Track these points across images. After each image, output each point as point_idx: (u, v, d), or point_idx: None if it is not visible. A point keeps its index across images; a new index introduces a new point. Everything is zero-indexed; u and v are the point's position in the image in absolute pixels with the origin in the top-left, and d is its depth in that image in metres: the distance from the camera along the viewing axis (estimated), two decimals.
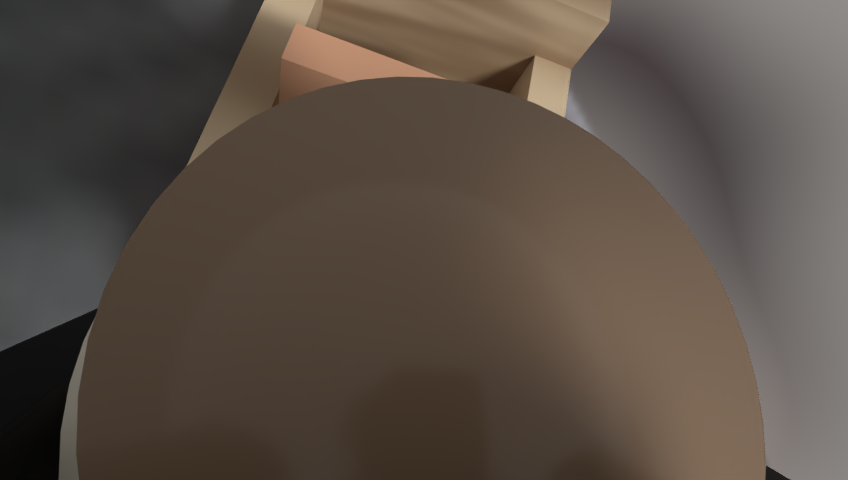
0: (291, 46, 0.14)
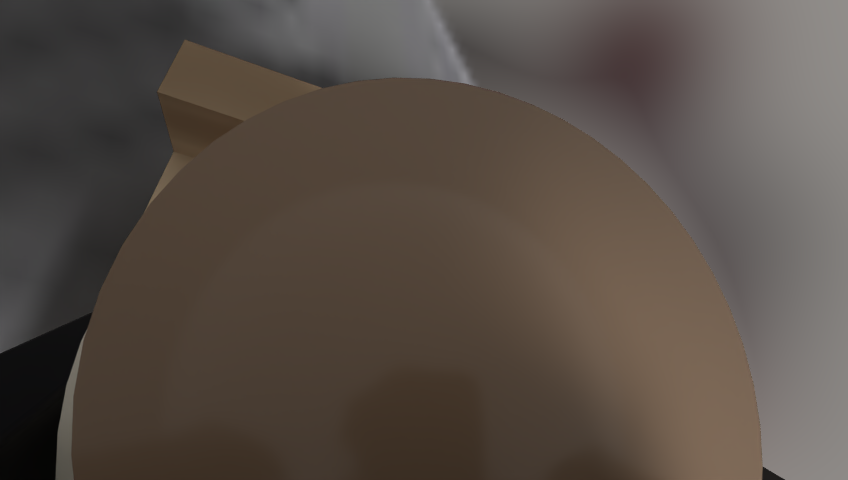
0: None
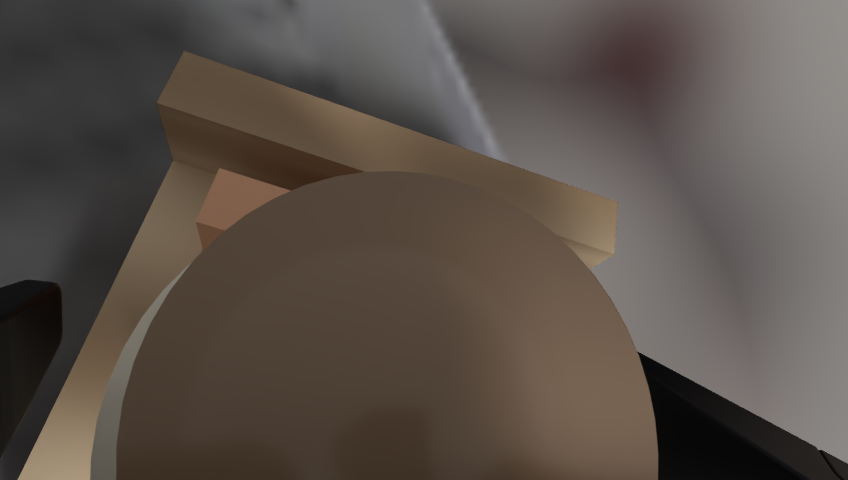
0: (211, 202, 0.10)
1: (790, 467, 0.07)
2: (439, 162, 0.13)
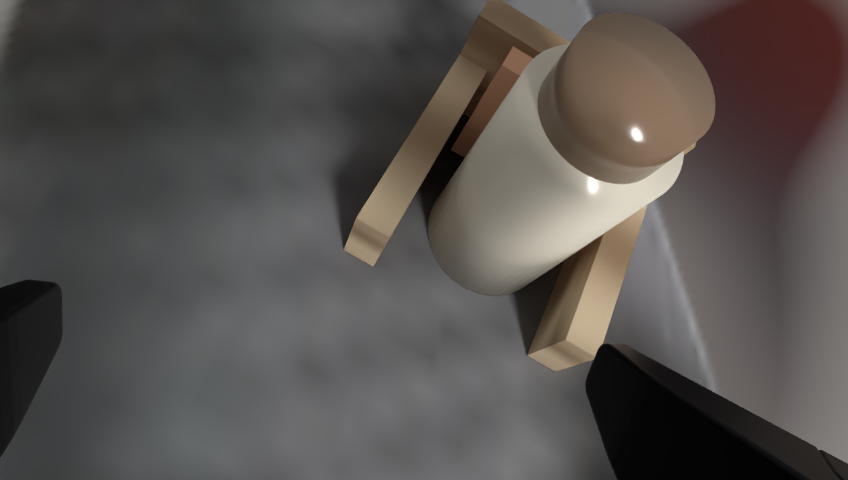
0: (508, 59, 0.22)
1: (790, 467, 0.07)
2: None
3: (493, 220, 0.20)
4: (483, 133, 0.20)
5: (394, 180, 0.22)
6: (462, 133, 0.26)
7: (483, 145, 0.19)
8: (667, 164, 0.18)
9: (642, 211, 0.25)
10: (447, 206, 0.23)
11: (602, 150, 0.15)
